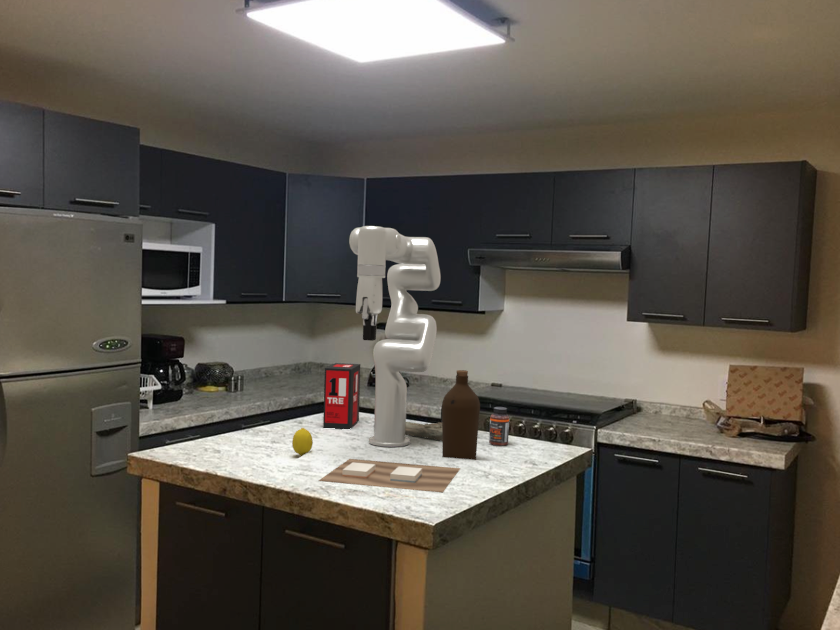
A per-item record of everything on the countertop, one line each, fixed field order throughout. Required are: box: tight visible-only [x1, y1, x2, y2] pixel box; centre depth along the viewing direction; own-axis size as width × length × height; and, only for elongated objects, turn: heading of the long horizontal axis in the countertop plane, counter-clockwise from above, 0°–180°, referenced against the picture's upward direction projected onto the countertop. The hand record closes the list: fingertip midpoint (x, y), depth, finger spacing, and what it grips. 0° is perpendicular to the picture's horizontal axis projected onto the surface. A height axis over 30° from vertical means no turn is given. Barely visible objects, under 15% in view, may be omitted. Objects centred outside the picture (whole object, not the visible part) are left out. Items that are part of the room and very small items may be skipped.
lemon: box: [291, 427, 314, 457], centre depth 212 cm, size 6×6×8 cm
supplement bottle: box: [488, 406, 510, 447], centre depth 237 cm, size 6×6×11 cm
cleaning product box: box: [322, 362, 361, 430], centre depth 261 cm, size 16×9×20 cm, turn 174°
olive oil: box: [441, 369, 481, 461], centre depth 214 cm, size 11×11×25 cm
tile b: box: [390, 466, 422, 483], centre depth 187 cm, size 2×6×8 cm
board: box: [318, 458, 461, 498], centre depth 190 cm, size 24×30×2 cm
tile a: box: [343, 462, 376, 478], centre depth 190 cm, size 2×6×8 cm
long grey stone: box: [405, 421, 443, 443], centre depth 248 cm, size 35×5×10 cm
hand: (369, 340), depth 208 cm, fingers closed
